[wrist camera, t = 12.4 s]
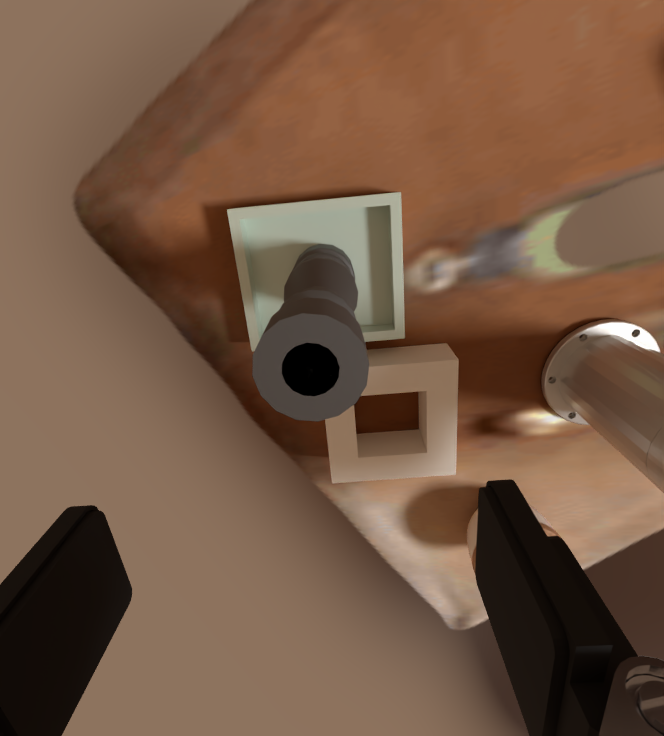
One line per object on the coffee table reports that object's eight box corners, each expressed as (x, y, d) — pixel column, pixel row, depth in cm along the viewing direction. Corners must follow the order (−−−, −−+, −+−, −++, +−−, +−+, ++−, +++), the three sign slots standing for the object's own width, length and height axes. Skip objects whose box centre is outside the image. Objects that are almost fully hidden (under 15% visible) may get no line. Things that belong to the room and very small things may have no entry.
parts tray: (396, 191, 41) (400, 192, 38) (400, 329, 47) (405, 338, 44) (233, 208, 42) (226, 209, 39) (256, 341, 47) (251, 351, 44)
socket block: (446, 342, 47) (458, 359, 42) (445, 449, 52) (455, 474, 48) (321, 353, 48) (319, 370, 43) (332, 457, 53) (332, 483, 48)
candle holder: (318, 230, 42) (297, 279, 19) (366, 270, 43) (401, 361, 20) (281, 279, 44) (221, 379, 21) (328, 315, 45) (321, 447, 22)
